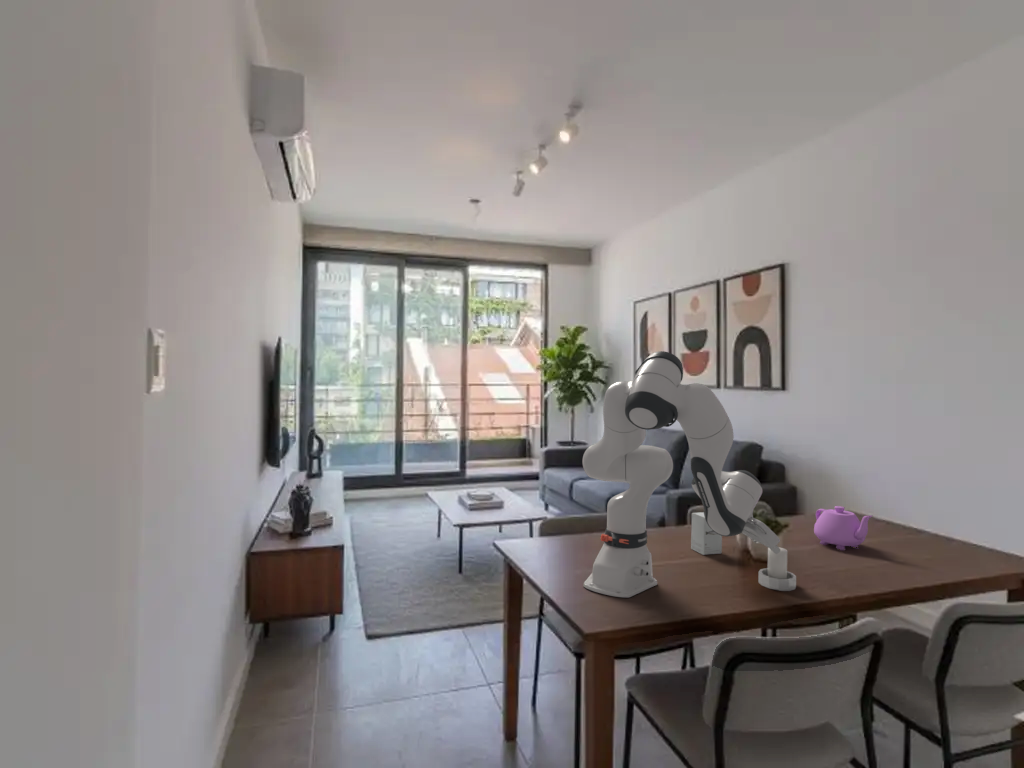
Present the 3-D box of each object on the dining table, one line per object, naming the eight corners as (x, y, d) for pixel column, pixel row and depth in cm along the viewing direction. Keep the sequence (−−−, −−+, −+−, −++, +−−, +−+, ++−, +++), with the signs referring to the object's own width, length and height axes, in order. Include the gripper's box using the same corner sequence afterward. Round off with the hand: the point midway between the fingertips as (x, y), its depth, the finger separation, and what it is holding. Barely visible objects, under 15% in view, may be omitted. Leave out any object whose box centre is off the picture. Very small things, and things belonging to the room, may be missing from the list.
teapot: (887, 553, 186) (888, 512, 186) (854, 558, 181) (855, 516, 181) (829, 535, 207) (830, 499, 207) (798, 539, 201) (799, 502, 201)
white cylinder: (785, 589, 153) (785, 553, 153) (765, 585, 156) (766, 550, 156) (788, 583, 157) (788, 548, 157) (769, 579, 160) (769, 545, 160)
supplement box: (703, 555, 182) (703, 517, 182) (690, 548, 189) (690, 512, 189) (722, 554, 184) (723, 516, 184) (709, 547, 191) (709, 511, 191)
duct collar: (792, 593, 150) (793, 582, 150) (755, 585, 155) (756, 575, 155) (797, 583, 158) (798, 572, 158) (762, 576, 163) (762, 566, 163)
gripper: (764, 514, 146) (798, 549, 147) (725, 497, 166) (754, 528, 167) (748, 531, 145) (782, 566, 147) (711, 512, 165) (741, 543, 167)
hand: (767, 546), depth 157 cm, fingers open, 8 cm apart
